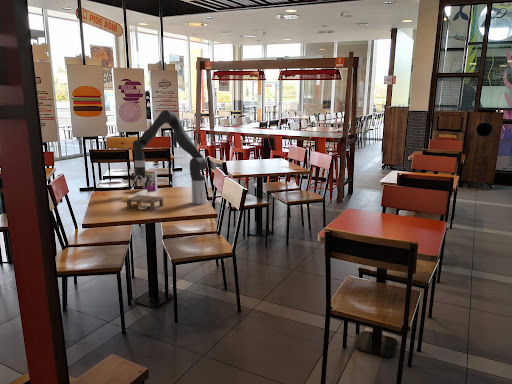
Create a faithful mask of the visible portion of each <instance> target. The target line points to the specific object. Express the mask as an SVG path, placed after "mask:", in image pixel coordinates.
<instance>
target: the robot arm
mask: <svg viewBox="0 0 512 384" xmlns="http://www.w3.org/2000/svg"><path fill="white" fill-rule="evenodd" d="M164 124H168V125H169V126H170V128H171V129H172V131H173V134H174V139H175V141H176V143H177V144H178V146H179V147H180V149H182V150H183V151H185V152H186V153H187V154H189V155H190V156H191V157H192V158H191V159H190V161H189V175H190V178H191V204H193V205H204V204H206V203H207V193H206V192H207V191H206V187H205V185H206V183H205V175H203V174H201V170H204V169H206V168H207V165H208V164H207V161H206V159H205V157H204V156H203V155H202V153H200V151H199V149H197V147H196V146H195V144H194V143H193V141H192V139H191V137H190V136H189V135H188V133H187V132H186V131H185V129H184V127H183V126H182V125H181V122H180V121H179V119H178V117H177V115H176V113H174V112H173V111H171V110H168V109H164V110H162V111H161V112H160V113H159V115H158V116H157V117H156V119H155V120H154V121H153V123H152V124H151V126H149V127H148V128H147V129H146V130H145V131H144V132H143V133H142V134H141V137H140V138H139V139H136V140H134V141H133V142H132V150H133V154H134V172H132V173H131V181H132V182H133V184H134V187H138V180H141V181H142V180H143V181H144V182H145V187H147V186H148V182H149V181H150V177H149V174H145V170H146V160H145V153H144V152H143V149H144V148H145V147H147V146H148V144H149V142H150V141H152V139H154V138H155V136H156V135H157V133H158V131H159V129H160V128H161V127H162V126H163V125H164ZM145 176H146V177H145Z"/></svg>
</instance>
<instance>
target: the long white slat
mask: <svg viewBox="0 0 512 384" xmlns="http://www.w3.org/2000/svg"><path fill="white" fill-rule="evenodd" d="M148 192H149V191H147V190H143V189H142V190H140V191H138V192H135V193H132V194H130V195H127V196H126V197H122V202H126V203H127V199H129V198H132V197H134V196H137V195H144V196H147V195H148ZM146 194H147V195H146Z"/></svg>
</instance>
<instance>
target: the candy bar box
mask: <svg viewBox="0 0 512 384" xmlns="http://www.w3.org/2000/svg"><path fill="white" fill-rule="evenodd" d="M145 174H149V177H150V181H149V182H148V186H147V187H145V182H144V181H143V180H142V179H141V185H142V186H141V187H142V191H143V190H144V189H145V190H147V192H156V191H158V172H157V170H153V169H152V170H150V169H145ZM145 177H146V176H145Z"/></svg>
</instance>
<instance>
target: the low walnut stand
mask: <svg viewBox="0 0 512 384" xmlns="http://www.w3.org/2000/svg"><path fill="white" fill-rule="evenodd" d="M158 202H159V207H164V206H165V205H164V204H165V203H164V197H163V196H154V195H153V196H152V195H137V196H134V197H132V198H129V199H127V202H126V208H127V209H132V203H136V204H137V205H142V203H143V204H149V207H150V212H151V211H152V212H153V211H155V209H156V207H155V203H158Z"/></svg>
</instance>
